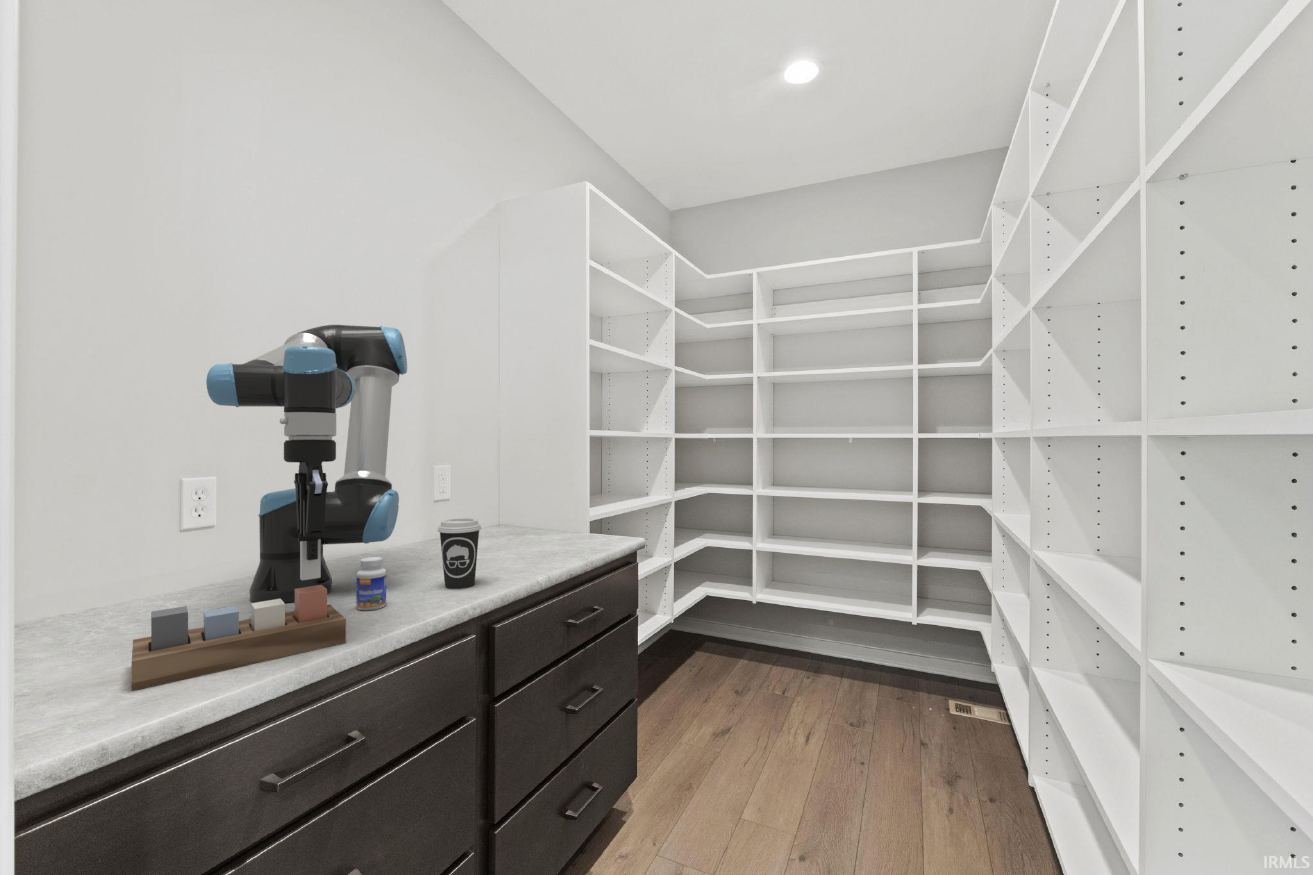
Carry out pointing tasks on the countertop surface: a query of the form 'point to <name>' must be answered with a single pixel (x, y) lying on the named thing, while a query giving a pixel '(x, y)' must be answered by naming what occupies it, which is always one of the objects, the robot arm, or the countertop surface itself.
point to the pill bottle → (371, 584)
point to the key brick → (310, 603)
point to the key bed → (233, 649)
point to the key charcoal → (169, 628)
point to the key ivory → (267, 614)
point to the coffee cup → (459, 551)
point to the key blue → (221, 623)
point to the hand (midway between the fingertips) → (310, 578)
